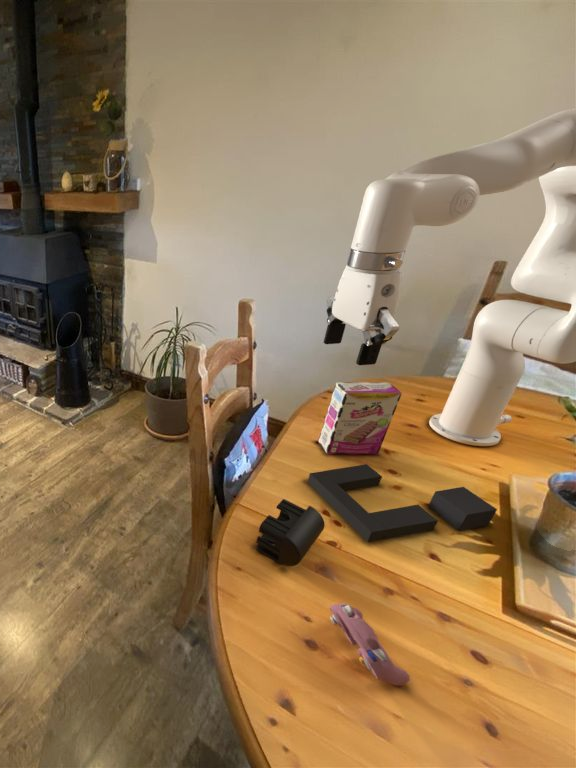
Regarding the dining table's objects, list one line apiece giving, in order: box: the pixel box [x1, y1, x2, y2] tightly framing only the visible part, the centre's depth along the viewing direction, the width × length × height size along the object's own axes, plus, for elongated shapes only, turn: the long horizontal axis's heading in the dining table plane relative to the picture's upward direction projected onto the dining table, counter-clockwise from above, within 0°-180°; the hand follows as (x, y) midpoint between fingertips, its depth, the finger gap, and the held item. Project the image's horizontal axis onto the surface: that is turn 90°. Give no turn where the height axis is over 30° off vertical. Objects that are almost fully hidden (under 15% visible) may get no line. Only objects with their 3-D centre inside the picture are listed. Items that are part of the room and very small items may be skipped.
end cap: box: [255, 498, 326, 567], centre depth 72 cm, size 10×7×7 cm
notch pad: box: [307, 463, 439, 543], centre depth 80 cm, size 13×16×2 cm
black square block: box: [427, 486, 498, 532], centre depth 76 cm, size 6×6×4 cm
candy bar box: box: [318, 381, 403, 455], centre depth 92 cm, size 11×5×16 cm, turn 84°
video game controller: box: [329, 602, 411, 687], centre depth 56 cm, size 10×5×7 cm, turn 5°
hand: (347, 353), depth 78 cm, fingers open, 9 cm apart
